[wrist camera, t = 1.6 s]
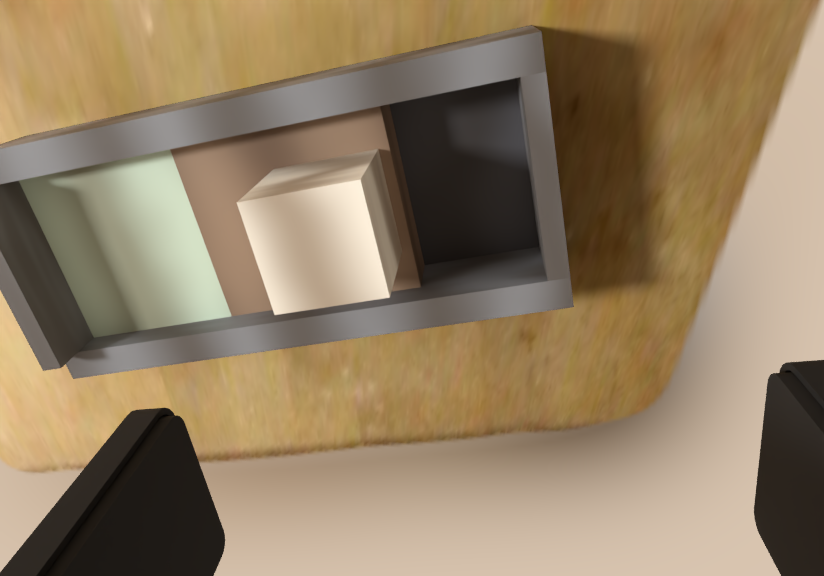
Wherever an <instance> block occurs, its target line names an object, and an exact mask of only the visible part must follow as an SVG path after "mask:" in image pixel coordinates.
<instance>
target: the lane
mask: <svg viewBox="0 0 824 576" xmlns="http://www.w3.org/2000/svg"><path fill="white" fill-rule="evenodd" d="M375 149H379V154H380V158H381V162H382V167H383V171H384V175H385V179H386V184H387V188H388V192H389V197H390V201H391V205H392V209H393V214H394V218H395V222H396V227H397V231H398V235H399V239H400V244H401V248H402V254H401V258H400V262H399V265H398V269H397V273H396V277H395V280H394V284H393V288H392V292H391V295H390V298H384V299H377V300H371V301H364V302H358V303H351V304H344V305H338V306H331V307H325V308H318V309H312V310H305V311H299V312H292V313H286V314H279V315H274V312H273V309H272V306H271V303H270V300H269V297H268V294H267V291H266V288H265V285H264V282H263V279H262V276H261V273H260V270H259V267H258V265H257V262H256V259H255V256H254V253H253V250H252V247H251V244H250V241H249V238H248V235H247V232H246V229H245V226H244V223H243V220H242V217H241V214H240V211H239V208H238V205H237V202H238V201H239V200H240V199H241V198H242V197H243V196H244V195H246V194H247V193H248V192H249V191H250V190H251V189H252V188H253V187H254V186H256V185H257V184H258V183H259V182H260V181H261V180H262V179H263V178H264V177H265V176H267V175H268V174H269V173H270V172H271V171H272V170H273V169H278V168H283V167H288V166H293V165H298V164H303V163H309V162H314V161H319V160H324V159H329V158H334V157H339V156H345V155H350V154H355V153H360V152H365V151H370V150H375ZM0 290H1V292H2V294H3V296H4V298H5V299H6V301H7V303H8V305H9V307H10V309H11V311H12V313H13V315H14V316H15V318H16V320H17V322H18V324H19V326H20V328H21V330H22V331H23V333H24V335H25V337H26V339H27V341H28V343H29V345H30V347H31V348H32V350H33V352H34V354H35V356H36V358H37V360H38V362H39V364H40V365H41V367H42V369H43V371H44V370H51V369H57V368H61V367H63V366H64V365H65V364H66V366H67V367H68V369H69V371H70V373H71V375H72V377H73V379H76V378H83V377H90V376H97V375H104V374H111V373H118V372H125V371H132V370H139V369H145V368H152V367H159V366H166V365H173V364H180V363H187V362H194V361H201V360H208V359H215V358H222V357H229V356H236V355H243V354H250V353H257V352H264V351H271V350H278V349H285V348H292V347H299V346H306V345H313V344H320V343H327V342H334V341H341V340H347V339H354V338H361V337H368V336H375V335H382V334H389V333H396V332H403V331H410V330H417V329H424V328H431V327H438V326H445V325H452V324H459V323H466V322H473V321H480V320H487V319H494V318H501V317H508V316H515V315H522V314H529V313H536V312H543V311H549V310H556V309H563V308H570V307H574V305H573V296H572V288H571V279H570V271H569V262H568V254H567V245H566V236H565V228H564V219H563V211H562V202H561V194H560V185H559V177H558V168H557V160H556V151H555V142H554V134H553V125H552V117H551V108H550V100H549V91H548V83H547V74H546V65H545V57H544V48H543V40H542V31H540V30H538V29H537V28H535V27H534V26H532V25H531V26H526V27H521V28H517V29H512V30H508V31H503V32H499V33H494V34H489V35H485V36H480V37H476V38H471V39H467V40H462V41H458V42H453V43H448V44H444V45H439V46H435V47H430V48H426V49H421V50H416V51H412V52H407V53H403V54H398V55H394V56H389V57H385V58H380V59H375V60H371V61H366V62H362V63H357V64H353V65H348V66H343V67H339V68H334V69H330V70H325V71H321V72H316V73H311V74H307V75H302V76H298V77H293V78H289V79H284V80H280V81H275V82H270V83H266V84H261V85H257V86H252V87H248V88H243V89H238V90H234V91H229V92H225V93H220V94H216V95H211V96H207V97H202V98H197V99H193V100H188V101H184V102H179V103H175V104H170V105H165V106H161V107H156V108H152V109H147V110H143V111H138V112H134V113H129V114H124V115H120V116H115V117H111V118H106V119H102V120H97V121H92V122H88V123H83V124H79V125H74V126H70V127H65V128H61V129H56V130H51V131H47V132H42V133H38V134H33V135H29V136H24V137H21V138H18V139H15V140H12V141H9V142H6V143H3V144H0Z"/></svg>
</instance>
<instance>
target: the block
mask: <svg viewBox="0 0 824 576" xmlns="http://www.w3.org/2000/svg"><path fill="white" fill-rule="evenodd" d="M237 205H238V208H239V211H240V214H241V217H242V220H243V223H244V226H245V229H246V232H247V235H248V238H249V241H250V244H251V247H252V250H253V253H254V256H255V259H256V262H257V265H258V267H259V270H260V273H261V276H262V279H263V282H264V285H265V288H266V291H267V294H268V297H269V300H270V303H271V306H272V309H273V312H274V315H279V314H286V313H292V312H299V311H305V310H312V309H318V308H325V307H331V306H338V305H344V304H351V303H358V302H364V301H371V300H377V299H384V298H390V295H391V292H392V288H393V284H394V280H395V277H396V273H397V269H398V265H399V262H400V258H401V254H402V248H401V244H400V239H399V235H398V231H397V227H396V222H395V218H394V214H393V209H392V205H391V201H390V197H389V192H388V188H387V184H386V179H385V175H384V171H383V167H382V162H381V158H380V154H379V149H375V150H370V151H365V152H360V153H355V154H350V155H345V156H339V157H334V158H329V159H324V160H319V161H314V162H309V163H303V164H298V165H293V166H288V167H283V168H278V169H273V170H272V171H271V172H270V173H269V174H268V175H267V176H265V177H264V178H263V179H262V180H261V181H260V182H259V183H258V184H257V185H256V186H254V187H253V188H252V189H251V190H250V191H249V192H248V193H247V194H246V195H244V196H243V197H242V198H241V199H240V200H239V201H238V202H237Z"/></svg>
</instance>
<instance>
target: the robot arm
mask: <svg viewBox="0 0 824 576" xmlns="http://www.w3.org/2000/svg"><path fill="white" fill-rule="evenodd" d="M754 515H755V522H756V526H757V529H758V532H759V534H760V536H761V538H762V540H763V542H764V544H765V546H766V548H767V549H768V551H769V553H770V555H771V557H772V559H773V561H774V563H775V565H776V567H777V568H778V570H779V572H780V574H781V576H824V360H817V361H803V362H790V363H785V364H783V365H782V367H781V369H780V373H773V374H771V375H770V377H769V379H768V384H767V394H766V402H765V412H764V421H763V430H762V440H761V449H760V459H759V468H758V477H757V486H756V496H755V505H754ZM224 546H225V535H224V530H223V528H222V525H221V522H220V520H219V517H218V514H217V511H216V508H215V506H214V503H213V500H212V497H211V495H210V492H209V489H208V487H207V483H206V481H205V478H204V475H203V472H202V470H201V467H200V464H199V461H198V459H197V456H196V453H195V450H194V448H193V445H192V442H191V439H190V437H189V434H188V431H187V428H186V426H185V423H184V421H183V419H182V418H181V417H180V416H175V415H174V413H173V412H172V411H171V410H170V409H168V408H157V409H143V410H135V411H132V412H131V413H130V414H128V415H127V417H126V418H125V419H124V420H123V422H122V423H121V424H120V425H119V426H118V428H117V429H116V430H115V431H114V433H113V434H112V435H111V436H110V438H109V439H108V440H107V441H106V443H105V444H104V445H103V446H102V447H101V449H100V450H99V451H98V452H97V454H96V455H95V456H94V457H93V459H92V460H91V461H90V462H89V464H88V465H87V466H86V467H85V468H84V470H83V471H82V472H81V473H80V475H79V476H78V477H77V479H76V480H75V481H74V482H73V483H72V485H71V486H70V487H69V488H68V490H67V491H66V492H65V493H64V495H63V496H62V497H61V498H60V499H59V501H58V502H57V503H56V504H55V506H54V507H53V508H52V509H51V511H50V512H49V513H48V514H47V515H46V517H45V518H44V519H43V520H42V522H41V523H40V524H39V525H38V527H37V528H36V529H35V530H34V532H33V533H32V534H31V535H30V537H29V538H28V539H27V540H26V541H25V543H24V544H23V545H22V546H21V548H20V549H19V550H18V551H17V553H16V554H15V555H14V556H13V557H12V559H11V560H10V561H9V562H8V564H7V565H6V566H5V567H4V569H3V570H2V571H1V572H0V576H213V575H214V573H215V571H216V568H217V566H218V564H219V562H220V559H221V557H222V554H223V551H224Z"/></svg>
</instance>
